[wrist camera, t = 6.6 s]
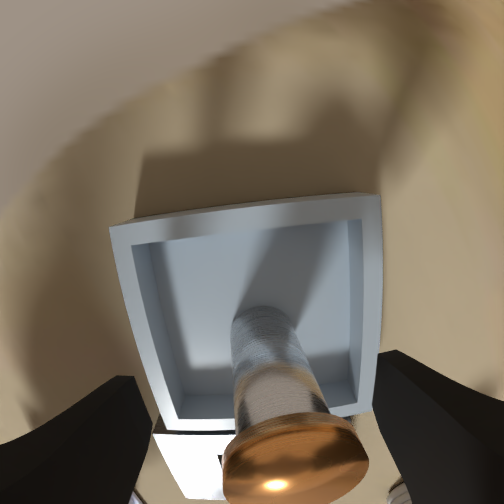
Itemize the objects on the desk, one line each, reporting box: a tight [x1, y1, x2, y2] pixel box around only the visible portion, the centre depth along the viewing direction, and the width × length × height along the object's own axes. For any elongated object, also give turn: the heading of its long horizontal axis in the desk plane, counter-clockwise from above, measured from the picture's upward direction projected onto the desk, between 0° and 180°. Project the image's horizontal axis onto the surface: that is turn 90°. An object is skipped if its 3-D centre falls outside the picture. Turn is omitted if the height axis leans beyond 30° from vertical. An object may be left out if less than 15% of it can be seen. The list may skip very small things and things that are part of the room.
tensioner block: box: [152, 413, 351, 500], centre depth 15 cm, size 10×7×2 cm
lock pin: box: [222, 306, 369, 504], centre depth 9 cm, size 4×4×8 cm
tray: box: [109, 192, 383, 430], centre depth 13 cm, size 10×10×2 cm
